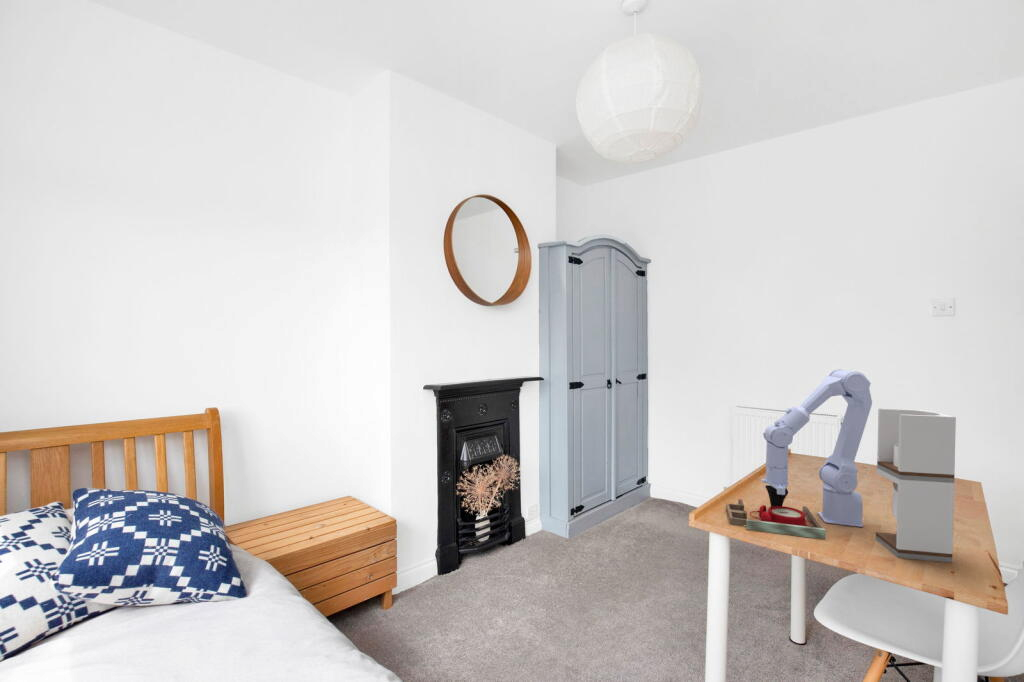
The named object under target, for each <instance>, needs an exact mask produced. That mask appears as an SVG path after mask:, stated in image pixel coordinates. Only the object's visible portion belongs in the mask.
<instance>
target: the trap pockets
mask: <svg viewBox="0 0 1024 682" xmlns="http://www.w3.org/2000/svg"><path fill="white" fill-rule="evenodd" d="M725 505H726V506H725V510H726V514H727V517H729V518H728V522H729V521H730V522H729V524H730V525H733V524H735V525H734V526H741V525H746V519H743V511H741V510H740V508H741V505H738V503H737V504H735V503H728V502H727V503H725Z"/></svg>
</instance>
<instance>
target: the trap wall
mask: <svg viewBox="0 0 1024 682" xmlns="http://www.w3.org/2000/svg"><path fill="white" fill-rule="evenodd" d="M737 500H738V502H737V504H738V505H741V508H740V510H741V511H743V519H746V526H745V529H746V528H747V529H751V530H750V531H755V530H756V531H755V532H763V531H764V532H765V533H772V534H780V535H787V536H797V537H804V538H811V539H818V540H826V532H827V531H826V529H825V528H823V527H822V526H821V524H819V522H818V520H817V519H816V518H815V516H814V515H813V514H812V512H811V511H810V510H809V508H808V506H805V505H802V512H803V513H804V514H805V519H807V521H810V522H813V524H812V523H810V522H809V524H810V525H811V526H807V527H806V526H798V525H790V524H782V523H773V522H765V521H761V520H757V519H756V520H754V519H748V513H747V511H746V510H745V503H744V502H743V500H742V499H741V498H738V499H737ZM806 513H807V515H806ZM747 529H746V530H747Z"/></svg>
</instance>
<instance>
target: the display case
mask: <svg viewBox="0 0 1024 682" xmlns="http://www.w3.org/2000/svg"><path fill="white" fill-rule="evenodd" d="M877 409H878V412H877V413H878V416H877V417H878V418H877V419H878V421H877V451H876V452H877V458H876V459H877V462H876V474H878V475H880V476H881V477H883V478H885V479H887V480H888V481H891V482H892V506H891V507H892V510H891V511H892V515H893V517H894V518H895V520H896V533H891V532H890V533H889V532H879V531H878V532H877V531H876V532H875V541H876V540H877V541H876V542H877V543H879V544H880V543H881V544H880V545H882V546H883V547H884V548H885V549H886V550H887V551H889V552H890V553H892V554H893V555H895V557H896V558H899V559H909V560H919V561H920V560H921V561H933V562H942V563H943V562H944V563H953V558H954V557H953V555H954V554H953V553H954V551H953V550H954V518H955V517H954V513H955V512H954V511H955V510H954V509H955V507H954V505H955V470H956V469H955V467H956V466H955V465H956V427H957V426H956V425H957V421H956V420H957V417H956V416H953V415H948V414H945V413H941V412H937V411H932V410H926V409H902V408H899V409H897V408H877Z"/></svg>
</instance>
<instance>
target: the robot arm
mask: <svg viewBox="0 0 1024 682" xmlns="http://www.w3.org/2000/svg"><path fill="white" fill-rule="evenodd" d="M871 385H872V383H871V382H870V380H869V379H868V378H867V376H866V375H865V374H864V373H862V372H860V371H852V370H850V371H849V370H844V369H839V368H838V369H834V370H832V371H831V372H829V374H828V375H827V376H825V377H824V378H823V380H822V381H821V383H820V384H819V385H818V386H817V387H816V389H814V390H813V392H811V393H810V395H809V396H808V397H807V398H806V399H805V400H804V401H803V402H802V403H801V404H800V405H799V406H792V407H791V408H789V407H788V408H787V409H786V410H785V413H784V414H783V416H781V417H780V418H779V419H778V420H777V419H776V420H775V421H774V424H772V425H771V424H770V425H768V426H767V427H766V429H765V430H764V432H763V434H762V435H763V436H762V437H763V438H764V440H765V441H766V449H765V452H766V453H765V455H766V456H765V458H766V459H765V461H766V463H765V464H766V465H765V470H766V471H765V478H761V482H762V483H765V484H767V485H765V486H764V487H765V489H766V491H767V494H768V499H769V503H770V507H772V506H783V505H784V502H785V499H786V497H787V496H788V494H789V490H788V488H787V487H788V486H789V481H788V480H789V445H791V444H792V443H793V440H794V439H793V437H794V436H796V434H797V433H798V432H799V431H800V430H801V429H802V428H803V427H804V426H805V425H806V424H808V423H809V422H810V419H811V418H810V417H811V416H810V414H812V413H814V411H816V410H817V409H818V408H819V407H821V406H822V405H823V404H824V403H825V402H827V401H828V400H829V399H830V398H831V397H837V396H842V398H843V399H844V401H846V403H847V406H846V410H845V413H844V417H843V419H842V423H841V425H840V430H839V433H838V436H837V439H836V441H835V445H834V449H833V453H832V454H831V455H830V456H828V457H826V459H825V462H824V464H823V465H821V467H820V468H819V470H818V476H819V479H820V480H821V481H822V508H821V509H822V511H818V512H817V514H818V516H820V518H821V519H822V521H823V522H824V523H826V524H834V525H843V526H851V527H858V528H859V527H860V528H861V527H862V528H863V527H864V525H863V511H864V509H863V505H864V503H863V498H862V495H861V493H860V492H859V491H856V489H857V486H858V483H859V482H858V477H857V476H858V472H859V471H858V467H857V465H856V463H855V460H856V457H857V453H858V450H859V447H860V445H861V441H862V438H863V434H864V431H865V429H866V425H867V421H868V418H869V415H870V413H871V408H872V405H873V399H872V394H871V390H870V387H871Z"/></svg>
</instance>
